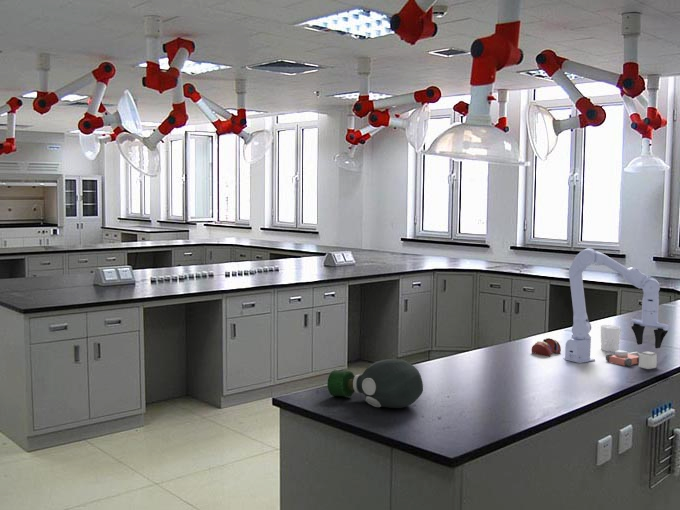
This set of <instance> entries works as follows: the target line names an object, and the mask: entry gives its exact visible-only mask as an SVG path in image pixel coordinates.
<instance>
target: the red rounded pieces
mask: <svg viewBox="0 0 680 510" xmlns="http://www.w3.org/2000/svg"><path fill="white" fill-rule="evenodd" d="M561 349H562V347H561V344H560V343H559V341H557V340H555V339H554V338H552V337H551V338H550V337H548V338H547V337H545V338H544V339H543V341H542V340H540V341H537V342H535V344H533V345H532V346H531V354H534V355H538V356H544V357H545V356H546V357H551V356H552V353H553V354H559V355H560V354H561V351H562V350H561Z"/></svg>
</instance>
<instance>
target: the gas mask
mask: <svg viewBox="0 0 680 510" xmlns="http://www.w3.org/2000/svg"><path fill="white" fill-rule="evenodd" d="M327 390H328V393H329V395H331V396H332V397H351V396H352V395H353V394H354V393H356V394H363V396H365V402H366V403H367V404H369V405H370V406H372V407H375V408H381V407H382V408H391V409H403V408H406V407H409V406H411V405H412V404H414V403H415V402H416V401H417V400H418V399H419V398H420V397H421V395H422V394H423V392H424V384H423V379H422V375H421V373H420V371H419V369H417V367H416V366H414V365H413V364H411V363H410V362H408V361H406V360H405V359H399V358H398V359H396V358H389V359H388V358H387V359H381V360H378V361H375V362H373V363H372V364H370V365H369V366H368V367H366V368H365V370H364V371H363V373H362V374H356V375H355V374H354V373H353V372H352V371H351V370H336V369H335V370H332V371H331V372H330V373H329V376H328V377H327Z"/></svg>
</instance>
